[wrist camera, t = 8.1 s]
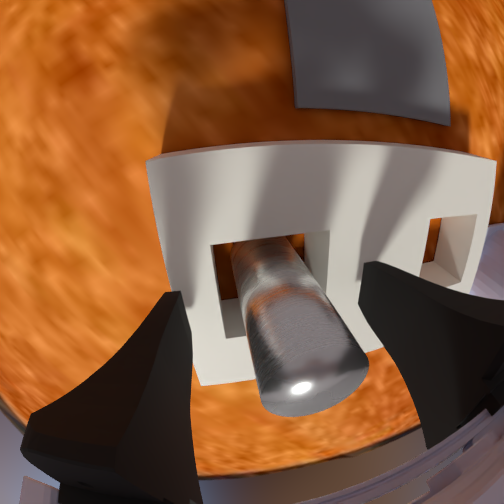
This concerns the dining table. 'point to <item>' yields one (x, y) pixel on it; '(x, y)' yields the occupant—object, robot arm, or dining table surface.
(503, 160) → the dining table surface
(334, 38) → the mat
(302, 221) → the hole block
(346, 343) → the peg
